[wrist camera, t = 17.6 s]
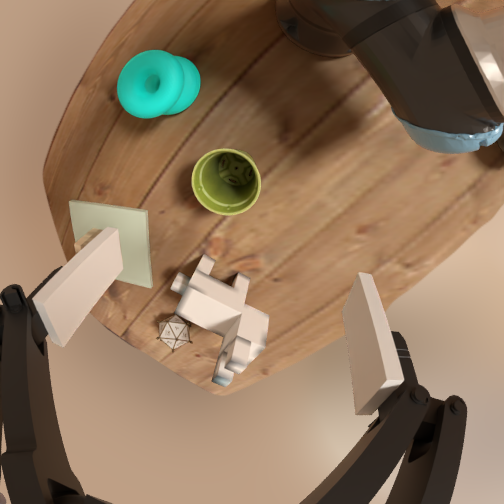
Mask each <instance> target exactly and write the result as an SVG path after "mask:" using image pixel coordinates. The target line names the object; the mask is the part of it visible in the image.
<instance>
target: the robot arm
mask: <svg viewBox="0 0 504 504" xmlns="http://www.w3.org/2000/svg"><path fill="white" fill-rule="evenodd" d="M276 16H277V20H278V23H279V26H280V28H281V29H282V31H283V32H284V34H285V35H286V36H287V37H288V38H289V39H290V40H291V41H292V42H293V43H294V44H296V45H297V46H299V47H300V48H302V49H304V50H306V51H308V52H311V53H313V54H317V55H321V56H327V57H342V56H347V55H351V54H354V55H355V56H356V57H357V59H358V60H359V61H360V62H361V64H362V65H363V66H364V68H365V69H366V70H367V72H368V73H369V74H370V76H371V77H372V78H373V80H374V81H375V83H376V84H377V85H378V87H379V88H380V90H381V91H382V93H383V94H384V96H385V97H386V99H387V100H388V102H389V103H390V105H391V109H392V112H393V114H394V115H395V117H397V118H398V120H399V121H400V122H401V123H402V124H403V126H404V128H405V129H406V131H407V132H408V134H409V136H410V137H411V138H412V139H413V140H414V141H415V142H416V143H417V144H418V145H420V146H421V147H423V148H425V149H427V150H430V151H434V152H438V153H447V154H458V153H467V152H472V151H476V150H479V146H489V145H491V144H493V143H494V142H495V141H497V140H498V138H499V137H500V136H501V134H502V131H503V123H504V6H502V7H499V8H495V9H492V10H488V11H485V12H482V13H479V12H474V11H472V10H470V9H468V8H465V7H463V6H461V5H458V4H452V5H450V6H448V7H445V8H443V9H442V8H441V7H440V6H439V5H438V4H437V2H436V1H435V0H276ZM122 270H123V263H122V256H121V248H120V240H119V232H118V229H117V228H112V227H107V228H105V229H104V230H103V231H102V232H101V233H100V234H98V235H97V236H96V237H95V238H94V239H93V240H92V241H90V242H89V243H88V244H87V245H86V246H85V247H84V248H83V249H82V250H80V251H79V252H78V253H77V254H76V255H75V256H74V257H73V258H72V259H71V260H70V261H69V262H68V263H67V264H66V265H65V266H64V267H63V266H61V267H59V268H57V269H56V270H54V271H53V272H52V273H51V274H50V275H49V276H48V277H47V278H46V279H45V280H44V281H43V283H41V284H40V285H39V286H38V287H37V288H36V289H35V290H34V291H33V292H32V293H31V294H30V295H29V296H28V297H27V298H26V297H25V295H24V292H23V290H22V287H21V286H20V285H17V284H13V285H10V286H7V287H6V288H5V289H3V291H2V292H1V294H0V299H1V301H2V303H3V305H0V478H1V465H2V470H3V474H4V479H5V482H6V486H7V490H8V494H9V497H10V501H11V504H112V503H109V502H107V501H104V500H101V499H98V498H95V497H93V496H90V495H88V494H87V495H86V496H85V494H84V492H83V489H82V487H81V485H80V482H79V481H78V479H77V477H76V476H75V475H74V473H73V472H72V470H71V468H70V465H69V462H68V459H67V456H66V452H65V449H64V445H63V441H62V437H61V434H60V430H59V425H58V420H57V416H56V411H55V405H54V400H53V394H52V387H51V380H50V372H49V362H48V351H47V342H46V339H45V337H46V336H47V335H48V334H49V336H50V338H51V340H52V342H53V343H55V344H57V345H59V346H61V347H64V346H65V345H66V343H67V342H68V341H69V339H70V338H71V336H72V335H73V333H74V332H75V331H76V329H77V328H78V327H79V325H80V324H81V322H82V321H83V320H84V318H85V317H86V316H87V314H88V313H89V312H90V310H91V309H92V308H93V306H94V305H95V304H96V303H97V301H98V300H99V299H100V297H101V296H102V295H103V294H104V292H105V291H106V290H107V289H108V287H109V286H110V285H111V284H112V282H113V281H114V280H115V279H116V277H117V276H118V275H119V274H120V273H121V271H122ZM342 315H343V321H344V327H345V333H346V340H347V347H348V353H349V360H350V368H351V376H352V385H353V394H354V404H355V414H356V415H372V414H373V413H374V412H375V411H376V410H377V409H378V412H379V417H377V418H376V419H375V420H374V421H373V422H372V423H371V424H370V425H369V426H368V427H369V429H368V430H367V431H366V433H365V434H364V435H363V437H362V438H361V439H360V441H359V442H358V443H357V444H356V445H355V447H354V448H353V449H352V450H351V451H350V452H349V454H348V455H347V456H346V457H345V458H344V459H343V460H342V462H341V463H340V464H339V465H338V466H337V467H336V468H335V469H334V470H333V471H332V472H331V474H330V475H329V476H328V477H327V478H326V479H325V480H324V481H323V482H322V483H321V484H320V485H319V486H318V487H317V488H316V489H315V490H314V491H313V492H312V493H311V494H309V495H308V496H307V497H306V498H305V499H304V500H303V501H302V502H301V503H300V504H369V502H370V501H371V500H372V499H373V497H374V496H375V494H377V492H378V491H379V489H380V488H381V487H382V485H383V484H384V483H385V481H386V480H387V479H388V477H389V476H390V474H391V473H392V471H393V469H394V468H395V467H396V465H397V464H398V462H399V460H400V459H401V457H402V456H403V454H404V453H405V455H404V458H403V461H402V464H401V466H400V469H399V472H398V475H397V477H396V480H395V482H394V485H393V487H392V490H391V492H390V495H389V497H388V499H387V501H386V503H385V504H450V501H451V497H452V494H453V490H454V487H455V482H456V479H457V474H458V470H459V465H460V460H461V454H462V449H463V443H464V435H465V428H466V418H467V407H466V404H465V402H464V401H463V399H462V398H460V397H459V396H455V395H453V396H449V398H447V399H446V400H445V401H442V400H439V399H435V398H432V397H430V394H429V392H428V391H427V390H426V389H425V388H424V387H423V386H421V385H419V384H418V381H417V377H416V374H415V370H414V367H413V363H412V360H411V358H410V354H409V351H408V348H407V344H406V341H405V340H404V338H403V337H402V335H401V334H400V333H399V332H393V331H390V328H389V325H388V321H387V318H386V315H385V312H384V309H383V306H382V303H381V300H380V297H379V294H378V292H377V289H376V286H375V283H374V281H373V278H372V275H371V274H366V273H361V272H358V274H357V276H356V279H355V281H354V284H353V286H352V289H351V291H350V293H349V296H348V298H347V300H346V303H345V305H344V307H343V310H342ZM3 424H4V433H5V440H6V446H7V450H6V452H5V453H3V454H2V455H1V441H2V425H3ZM405 451H406V452H405ZM0 504H6V499H5V497H4V495H3V494H2V493H0Z"/></svg>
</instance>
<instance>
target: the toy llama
mask: <svg viewBox="0 0 504 504" xmlns="http://www.w3.org/2000/svg"><path fill="white" fill-rule="evenodd" d="M214 262H215V260H214V259H212V258H210V257H209V256H207V255H205V254H204V255H203V257H202V259H201V260H200V262H199V264H198V266H197V268H196V270H195V272H194V274H193V276H192V278H190V277H188V276H186V275H184V274H182V273H180V272H179V273H178V275H177V276H176V278H175V280H174V282H173V284H172V287H171V290H173V291H175V292H177V293H179V294H180V295H182V298H181V300H180V302H179V304H178V306H177V308H176V310H175V312H174V313H175V314H177V315H179V316H181V317H183V318H185V319H187V320H189V321H191V322H193V323H195V324H197V325H199V326H201V327H203V328H205V329H207V330H209V331H211V332H213V333H216V334H218V335H220V336H222V337H224V338H223V341H222V345H221V349H220V352H219V356H218V360H217V363H216V367H215V371H214V374H213V378H212V382H214V383H216V384H219V385H221V386H224V387H226V386H227V385H228V384H230V383H231V382H232V379H233V374H234V373H237V374H240V373H241V372H242V371H243V370H244V369H245V368H246V367H247V365H248V364H249V363H250V362H252V361H253V360H254V359H255V358H256V357H257V356H258V355H259V354H260V353H261V352H262V351H263V350H264V349H265V347H266V339H267V331H268V322H269V315H267V314H265V313H263V312H261V311H259V310H257V309H255V308H253V307H251V306H249V305H246V304H244V303H245V298H246V294H247V289H248V285H249V281H250V278H249V277H247V276H245V275H243V274H241V273H239V272H238V274H237V276H236V277H235V279H234V280H233V283H232V286H229V285H227V284H225V283H223V282H221V281H219V280H217V279H215V278H213V277H211V276H209V274H210V272H211V269H212V267H213V265H214Z"/></svg>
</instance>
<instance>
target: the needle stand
mask: <svg viewBox="0 0 504 504" xmlns="http://www.w3.org/2000/svg"><path fill="white" fill-rule="evenodd" d="M69 208H70V214H71V221H72V227H73V232H74V237H75V243H76V242H77V241H78V240H79V239H80V238H81V237H83V236H84V235H85V234H86V233H87V232H89V231H90V230H91V229H92V228H96V229H101V230H104V229H105V228H107V227H112V228H117V229H118V232H119V237H120V245H121V253H122V260H123V262H122V263H123V270H122V271H121V273H120V274H119V275H118V276H117V277H116V280H120V281H124V282H128V283H131V284H135V285H139V286H143V287H147V288H152V286H153V281H152V271H151V259H150V245H149V228H148V210H142V209H136V208H129V207H122V206H115V205H108V204H100V203H93V202H86V201H78V200H70V201H69Z"/></svg>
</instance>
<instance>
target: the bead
mask: <svg viewBox="0 0 504 504" xmlns="http://www.w3.org/2000/svg"><path fill="white" fill-rule="evenodd" d="M102 231H103V230H101V229H96V228H92V229H91V230H90V231H89V232H87V233H86V234H85V235H84V236H83V237H81V238H80V239H79V240H78V241H77V242H76V243H74V247H75V252H76V254H77V253H78V252H79V251H80V250H82V249H83V248H84V247H85V246H86V245H87V244H88V243H89V242H90V241H92V240H93V239H94V238H95V237H96V236H97V235H98V234H100V233H101V232H102ZM119 240H120V237H119ZM120 248H121V245H120ZM121 256H122V253H121ZM122 262H123V260H122Z"/></svg>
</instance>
